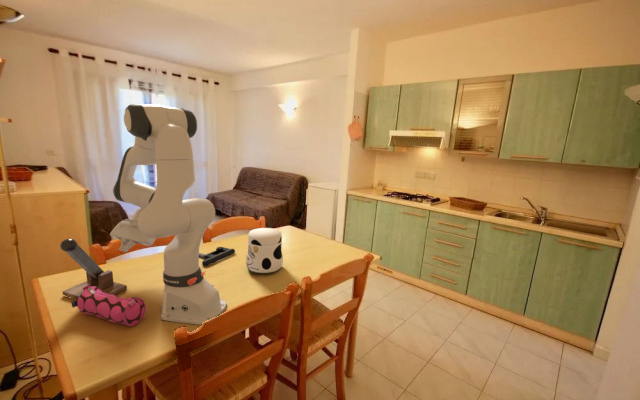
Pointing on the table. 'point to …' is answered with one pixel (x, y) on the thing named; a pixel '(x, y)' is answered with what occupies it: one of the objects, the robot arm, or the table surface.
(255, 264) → the milk container
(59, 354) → the table surface
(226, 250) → the door handle
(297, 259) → the table surface
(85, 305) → the pencil case
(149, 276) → the table surface
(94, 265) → the lever
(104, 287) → the press stand
